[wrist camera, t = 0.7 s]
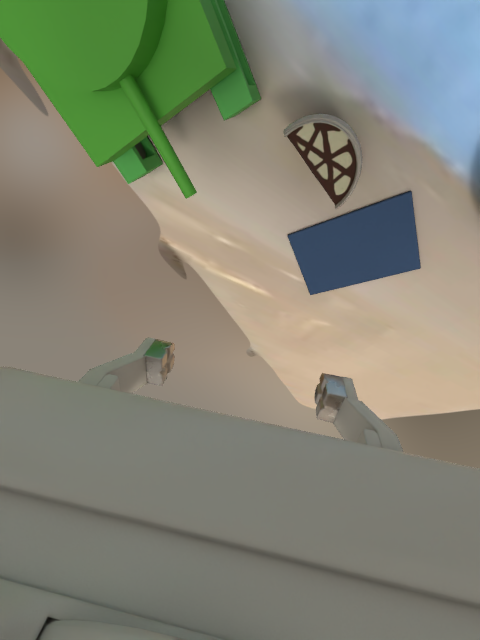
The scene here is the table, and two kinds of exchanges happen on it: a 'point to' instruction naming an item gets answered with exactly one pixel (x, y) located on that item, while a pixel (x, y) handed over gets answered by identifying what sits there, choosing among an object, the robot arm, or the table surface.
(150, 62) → the tank
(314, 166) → the food container
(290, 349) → the table surface
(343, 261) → the mat
